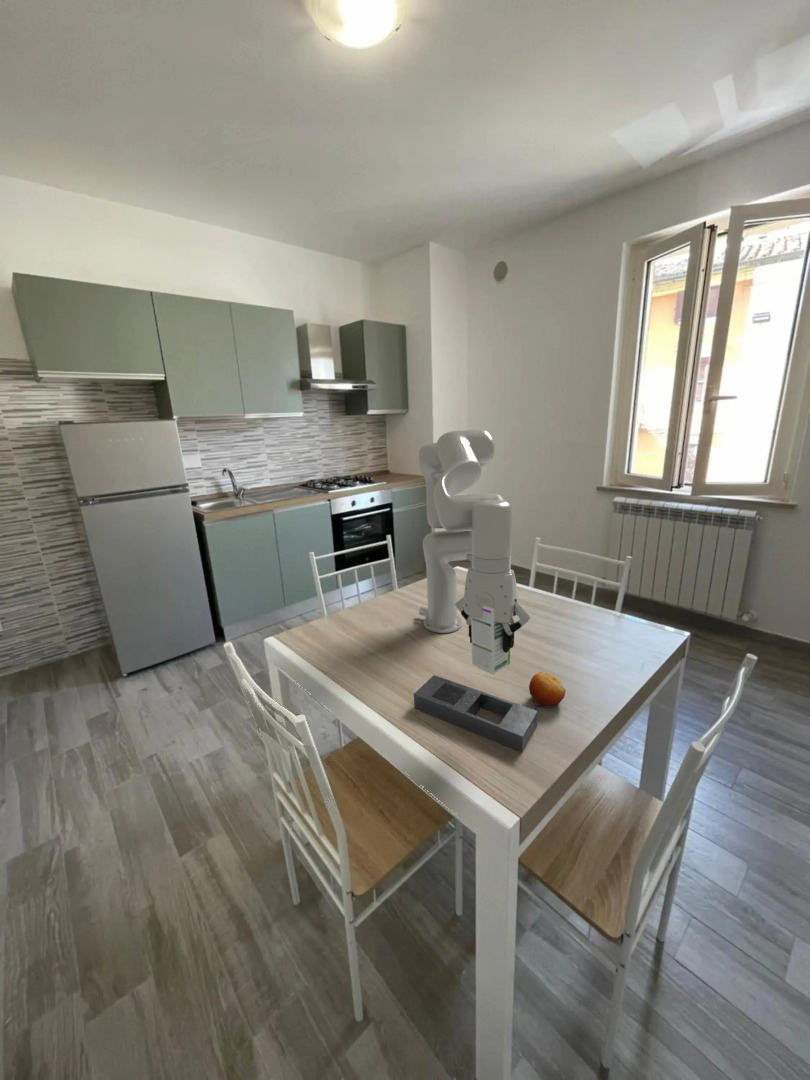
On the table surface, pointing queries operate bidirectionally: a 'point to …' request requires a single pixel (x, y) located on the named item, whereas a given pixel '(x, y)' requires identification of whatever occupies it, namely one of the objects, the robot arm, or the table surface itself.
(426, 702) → the grey slotted holder
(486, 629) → the syrup box
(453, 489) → the robot arm
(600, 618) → the table surface
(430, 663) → the table surface
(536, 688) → the fruit
